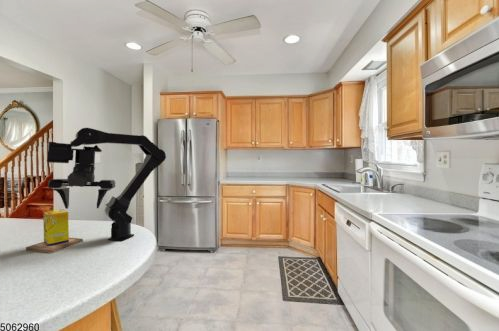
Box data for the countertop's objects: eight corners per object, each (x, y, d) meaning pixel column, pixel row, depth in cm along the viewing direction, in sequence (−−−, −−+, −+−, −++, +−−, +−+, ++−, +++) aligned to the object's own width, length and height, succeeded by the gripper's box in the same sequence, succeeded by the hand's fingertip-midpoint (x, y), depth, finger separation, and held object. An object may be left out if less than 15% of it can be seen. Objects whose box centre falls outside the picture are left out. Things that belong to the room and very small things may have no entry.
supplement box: (43, 242, 83) (42, 211, 83) (64, 238, 88) (63, 209, 87) (47, 246, 79) (46, 214, 79) (69, 242, 84) (68, 211, 83)
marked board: (59, 239, 90) (58, 236, 90) (82, 241, 87) (82, 238, 87) (26, 250, 79) (25, 246, 79) (52, 252, 77) (52, 249, 77)
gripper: (40, 162, 73) (37, 213, 72) (109, 165, 79) (107, 212, 79) (56, 162, 83) (54, 207, 83) (116, 165, 89) (114, 206, 89)
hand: (82, 208), depth 83 cm, fingers open, 9 cm apart
